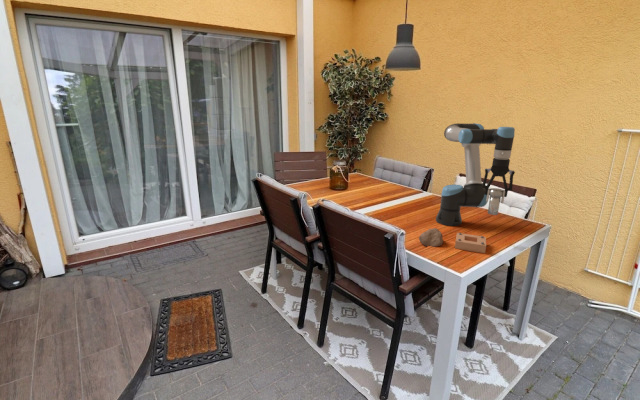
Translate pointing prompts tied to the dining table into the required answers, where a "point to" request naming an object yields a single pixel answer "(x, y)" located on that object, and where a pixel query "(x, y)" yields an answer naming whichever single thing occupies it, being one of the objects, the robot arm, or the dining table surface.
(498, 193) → the grey metal plug
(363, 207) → the dining table surface
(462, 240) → the housing
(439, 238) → the stone
